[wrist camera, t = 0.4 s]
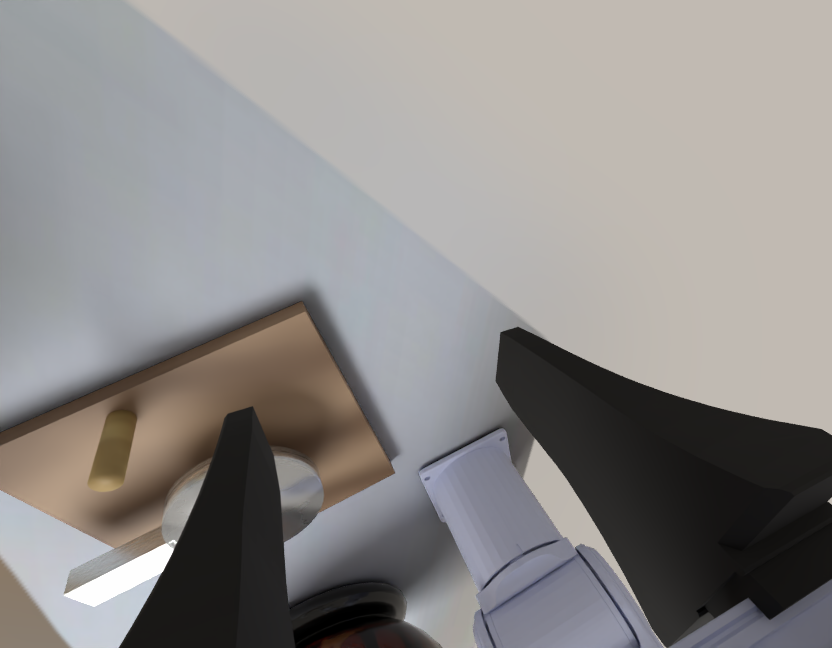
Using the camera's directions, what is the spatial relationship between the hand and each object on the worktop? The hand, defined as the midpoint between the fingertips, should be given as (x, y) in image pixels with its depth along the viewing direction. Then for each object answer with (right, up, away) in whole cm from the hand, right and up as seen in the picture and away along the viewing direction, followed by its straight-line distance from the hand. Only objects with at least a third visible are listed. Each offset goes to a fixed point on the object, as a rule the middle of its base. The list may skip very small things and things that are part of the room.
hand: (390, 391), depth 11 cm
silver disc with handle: (-11, -9, +11) cm, 18 cm away
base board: (-10, -6, +13) cm, 17 cm away
